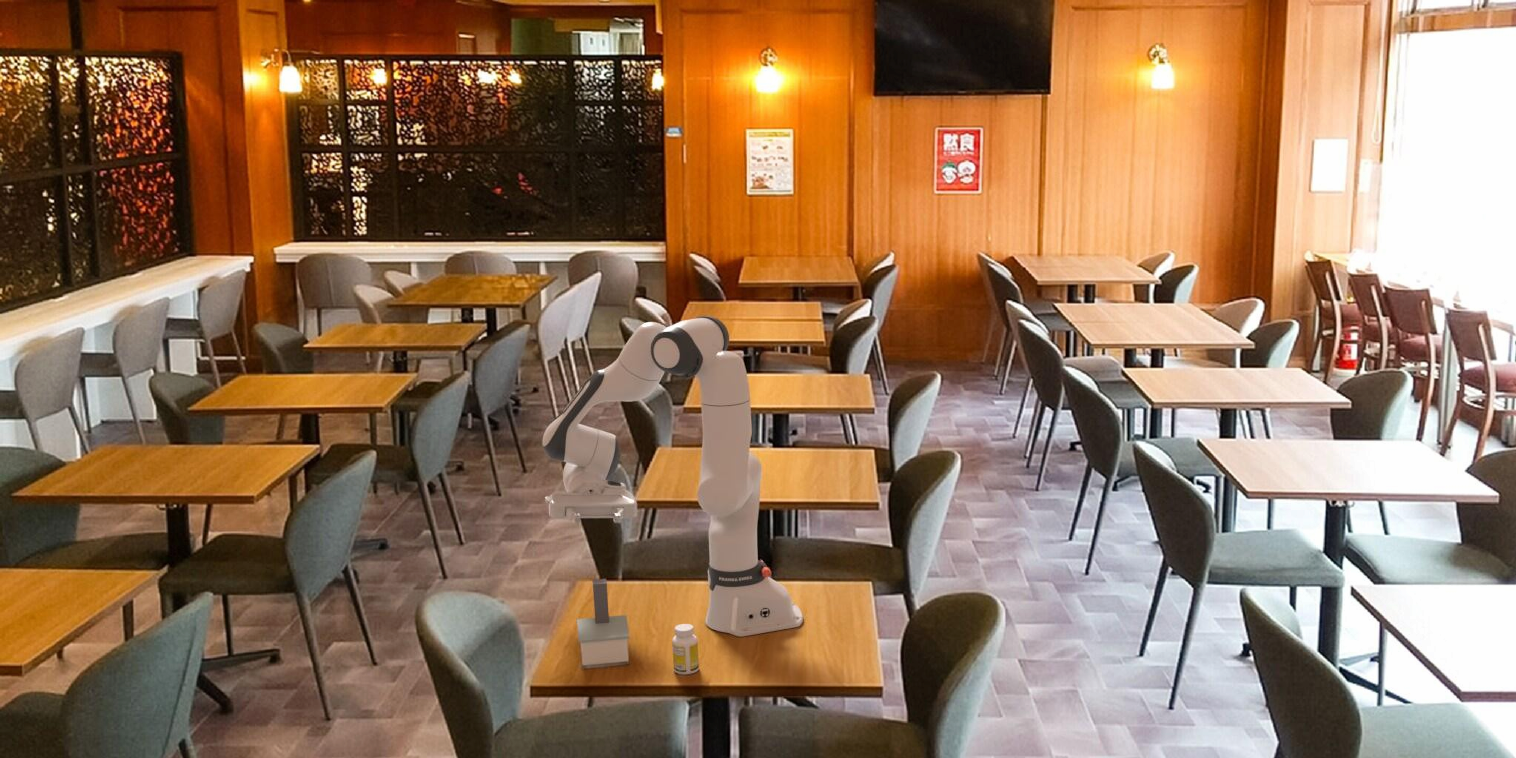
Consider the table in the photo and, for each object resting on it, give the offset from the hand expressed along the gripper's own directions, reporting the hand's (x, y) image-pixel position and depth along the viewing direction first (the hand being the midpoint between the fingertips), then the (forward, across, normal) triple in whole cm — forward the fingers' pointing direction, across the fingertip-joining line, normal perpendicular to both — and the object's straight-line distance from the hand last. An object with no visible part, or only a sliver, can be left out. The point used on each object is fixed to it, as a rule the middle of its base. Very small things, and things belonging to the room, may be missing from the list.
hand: (597, 519), depth 324 cm
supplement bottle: (+30, +16, +22) cm, 40 cm away
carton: (+17, +1, +25) cm, 30 cm away
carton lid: (+16, 0, +19) cm, 25 cm away
